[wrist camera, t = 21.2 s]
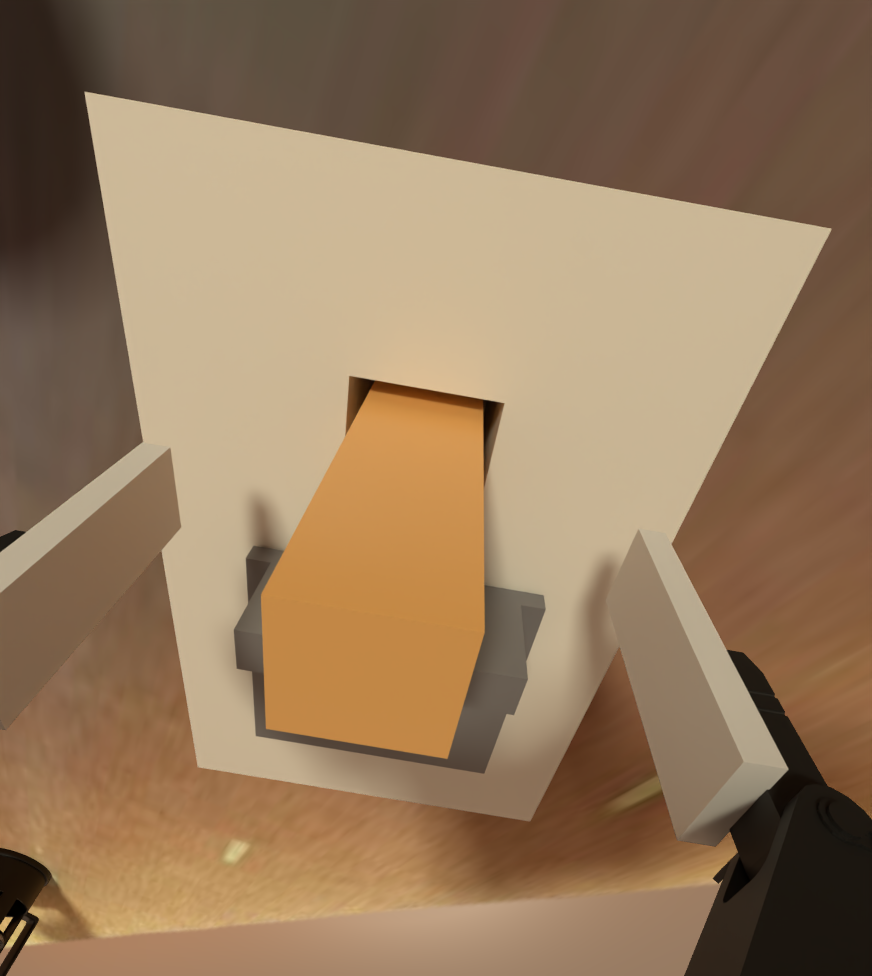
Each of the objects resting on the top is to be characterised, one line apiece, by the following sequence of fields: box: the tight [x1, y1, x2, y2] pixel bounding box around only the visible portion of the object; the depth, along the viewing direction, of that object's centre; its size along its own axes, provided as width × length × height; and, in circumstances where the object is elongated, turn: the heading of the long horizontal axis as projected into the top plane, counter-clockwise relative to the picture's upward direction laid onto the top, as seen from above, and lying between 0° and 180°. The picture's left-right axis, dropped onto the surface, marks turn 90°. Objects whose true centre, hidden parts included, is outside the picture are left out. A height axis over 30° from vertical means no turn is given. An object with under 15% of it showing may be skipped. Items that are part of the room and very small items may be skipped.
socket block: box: [85, 92, 831, 821], centre depth 25 cm, size 32×20×8 cm, turn 171°
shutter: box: [234, 546, 546, 774], centre depth 22 cm, size 12×12×4 cm
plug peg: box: [261, 380, 485, 759], centre depth 17 cm, size 4×4×16 cm
